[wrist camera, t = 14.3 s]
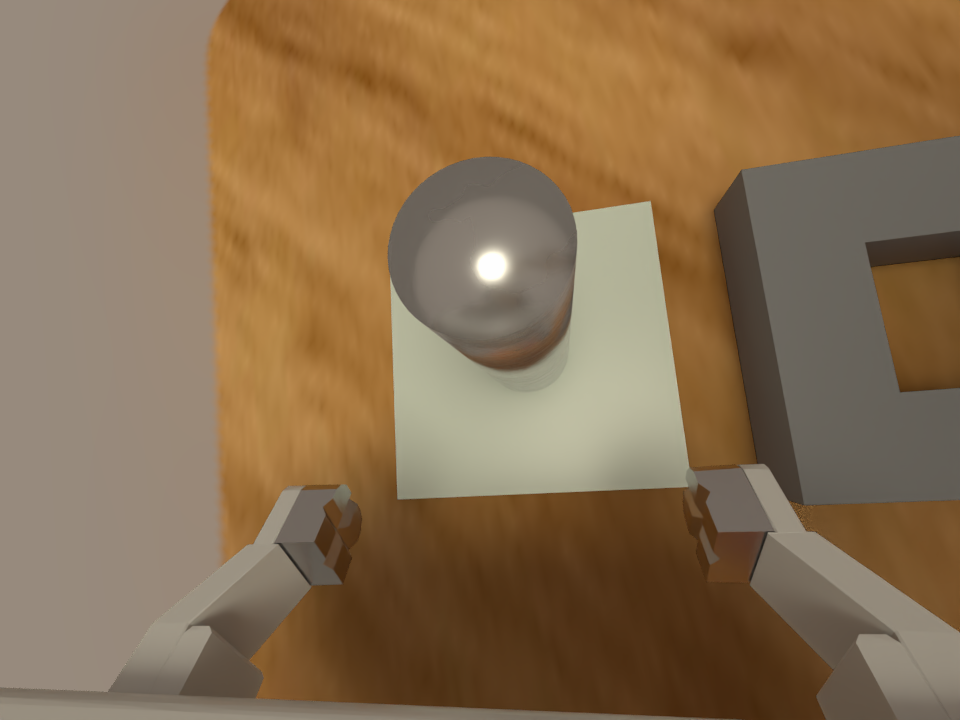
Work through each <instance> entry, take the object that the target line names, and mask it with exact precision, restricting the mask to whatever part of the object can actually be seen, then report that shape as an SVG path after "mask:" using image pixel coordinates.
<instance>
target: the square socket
mask: <svg viewBox="0 0 960 720" xmlns="http://www.w3.org/2000/svg"><path fill="white" fill-rule="evenodd" d="M714 213H715V219H716V224H717V230H718V236H719V242H720V247H721V253H722V259H723V265H724V271H725V276H726V282H727V288H728V294H729V300H730V305H731V311H732V317H733V323H734V329H735V334H736V340H737V346H738V352H739V358H740V363H741V369H742V375H743V381H744V387H745V392H746V398H747V404H748V410H749V416H750V421H751V427H752V433H753V439H754V444H755V450H756V456H757V462H758V464H765V465H766V466H767V467H768V468H769V469H770V471H771V473H772V474H773V476H774V478H775V479H776V481H777V483H778V484H779V486H780V488H781V489H782V491H783V493H784V495H785V496H786V498H787V500H789V501H792V502H795V503H798V504H802V505H830V504H859V503H887V502H916V501H945V500H960V388H953V389H939V390H926V391H912V392H900V390H899V386H898V382H897V377H896V373H895V369H894V365H893V360H892V356H891V352H890V348H889V343H888V339H887V335H886V330H885V326H884V322H883V318H882V313H881V309H880V305H879V301H878V296H877V292H876V288H875V284H874V279H873V275H872V271H871V267H872V266H881V265H890V264H898V263H907V262H915V261H924V260H933V259H941V258H950V257H958V256H960V136H955V137H948V138H942V139H936V140H929V141H923V142H916V143H910V144H904V145H897V146H891V147H885V148H878V149H872V150H865V151H859V152H853V153H846V154H840V155H834V156H827V157H821V158H814V159H808V160H802V161H795V162H789V163H783V164H776V165H770V166H763V167H757V168H751V169H744V170H741V171H740V173H739V174H738V176H737V177H736V179H735V180H734V182H733V183H732V184H731V186H730V187H729V189H728V190H727V192H726V193H725V195H724V196H723V197H722V199H721V200H720V202H719V203H718V205H717V206H716V208H715V209H714Z"/></svg>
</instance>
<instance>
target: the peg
mask: <svg viewBox="0 0 960 720" xmlns="http://www.w3.org/2000/svg"><path fill="white" fill-rule="evenodd" d="M576 255H577V229H576V223H575V219H574V216H573V213H572V210H571V207H570V205H569V203H568V201H567V199H566V197H565V196H564V195H563V193H562V192H561V190H560V189H559V188H558V187H557V186H556V184H555V183H554V182H553V181H552V180H551V179H550V178H548V177H547V176H546V175H544V174H543V173H542V172H540V171H539V170H537V169H535V168H533V167H532V166H530V165H527V164H525V163H522V162H520V161H516V160H512V159H508V158H500V157H480V158H472V159H468V160H464V161H460V162H457V163H455V164H452V165H449V166H447V167H445V168H443V169H441V170H439V171H438V172H436V173H435V174H433V175H432V176H430V177H429V178H427V179H426V180H425V181H424V182H423V183H421V184H420V185H419V186H418V187H417V188H416V189H415V190H414V191H413V193H412V194H411V195H410V196H409V197H408V199H407V200H406V201H405V203H404V204H403V206H402V208H401V209H400V211H399V213H398V215H397V217H396V219H395V222H394V224H393V227H392V231H391V234H390V239H389V245H388V265H389V272H390V276H391V281H392V283H393V286H394V288H395V291H396V293H397V295H398V297H399V298H400V300H401V302H402V303H403V304H404V306H405V307H406V308H407V310H408V311H409V312H410V313H411V314H412V315H413V316H414V317H415V318H416V319H417V320H419V321H420V322H421V323H423V324H424V325H425V326H427V327H428V328H429V329H430V330H432V331H433V332H434V333H436V334H437V335H438V336H440V337H441V338H442V339H443V340H445V341H446V342H447V343H449V344H450V345H451V346H453V347H454V348H455V349H456V350H458V351H459V352H460V353H462V354H463V355H464V356H466V357H467V358H468V359H469V360H471V361H472V362H473V363H475V364H476V365H477V366H479V367H480V368H481V369H482V370H484V371H485V372H486V373H488V374H489V375H490V376H492V377H493V378H494V379H495V380H497V381H498V382H499V383H501V384H502V385H503V386H505V387H507V388H509V389H511V390H514V391H518V392H534V391H538V390H541V389H543V388H546V387H547V386H549V385H551V384H552V383H553V382H554V381H555V380H556V379H557V378H558V377H559V376H560V375H561V373H562V372H563V370H564V368H565V366H566V363H567V359H568V352H569V340H570V328H571V316H572V303H573V291H574V279H575V267H576Z"/></svg>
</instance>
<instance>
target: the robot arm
mask: <svg viewBox="0 0 960 720" xmlns="http://www.w3.org/2000/svg"><path fill="white" fill-rule="evenodd" d="M685 479H686V481H687V484H688V488H687V489H686V490H684V491H683V512H684V517H685V521H686V525H687V528H688V531H689V534H691V535H692V536H693V537H694V538H695V539H696V540H698V543H697V549H696V554H697V557H698V560H699V563H700V566H701V569H702V572H703V574H704V577H705V580H706V582H721V583H750V586H751V587H752V588H753V589H754V590H755V591H756V592H757V593H758V594H759V595H760V596H761V597H762V598H763V599H764V600H765V601H766V602H767V603H768V604H769V605H770V606H771V607H772V608H773V609H774V610H775V611H776V612H777V613H778V614H779V615H780V616H781V617H782V618H783V620H784V621H785V622H786V623H787V624H788V625H789V626H790V627H791V628H792V629H793V630H794V631H795V632H796V633H797V634H798V635H799V636H800V637H801V638H802V639H803V640H804V641H805V642H806V643H807V644H808V645H809V646H810V647H811V648H812V649H813V650H814V651H815V652H816V653H817V654H818V655H819V656H820V657H821V658H822V659H823V660H824V661H825V662H826V663H827V664H828V665H829V666H830V667H831V668H832V669H833V670H834V671H833V672H832V674H831V675H830V676H829V678H828V679H827V681H826V682H825V684H824V685H823V686H822V688H821V689H820V691H819V693H818V694H817V696H816V698H817V700H818V702H819V705H820V707H821V709H822V711H823V714H824V716H825V718H826V720H960V632H958V631H957V630H955V629H954V628H953V627H951V626H950V625H948V624H947V623H945V622H944V621H943V620H941V619H940V618H938V617H937V616H935V615H934V614H932V613H931V612H930V611H928V610H927V609H925V608H924V607H922V606H921V605H920V604H918V603H917V602H915V601H914V600H912V599H911V598H909V597H908V596H907V595H905V594H904V593H902V592H901V591H899V590H898V589H897V588H895V587H894V586H892V585H891V584H889V583H888V582H886V581H885V580H884V579H882V578H881V577H879V576H878V575H876V574H875V573H874V572H872V571H871V570H869V569H868V568H866V567H865V566H863V565H862V564H861V563H859V562H858V561H856V560H855V559H853V558H852V557H851V556H849V555H848V554H846V553H845V552H843V551H842V550H840V549H839V548H838V547H836V546H835V545H833V544H832V543H830V542H829V541H827V540H826V539H825V538H823V537H822V536H820V535H819V534H817V533H816V532H806V530H805V528H804V527H803V525H802V523H801V522H800V520H799V518H798V516H797V515H796V513H795V511H794V510H793V508H792V506H791V505H790V503H789V501H788V500H787V498H786V496H785V495H784V493H783V491H782V489H781V488H780V486H779V484H778V483H777V481H776V479H775V478H774V476H773V474H772V473H771V471H770V469H769V468H768V467H767V466H766V465H765V464H747V465H720V466H703V467H689V468H688V470H687V472H686V478H685ZM350 495H351V492H350V490H349V488H348V487H347V485H302V486H288V487H287V488H286V489H284V490H283V491H282V493H281V495H280V497H279V498H278V500H277V502H276V504H275V506H274V507H273V509H272V511H271V513H270V515H269V516H268V518H267V520H266V522H265V524H264V526H263V527H262V529H261V531H260V533H259V535H258V536H257V538H256V540H255V542H254V544H250V545H247V546H245V547H244V548H243V549H242V550H241V551H239V552H238V553H237V554H236V555H235V556H233V557H232V558H231V559H230V560H229V561H227V562H226V563H225V564H224V565H222V566H221V567H220V568H219V569H218V570H217V571H215V572H214V573H213V574H212V575H211V576H209V577H208V578H207V579H206V580H204V581H203V582H202V583H201V584H199V585H198V586H197V587H196V588H195V589H193V590H192V591H191V592H190V593H189V594H188V595H186V596H185V597H184V598H182V599H181V600H180V601H179V602H178V603H176V604H175V605H174V606H173V607H172V608H170V609H169V610H168V611H167V612H166V613H164V614H163V615H162V616H161V617H160V618H158V619H157V620H156V621H155V622H153V623H152V625H151V626H150V628H149V629H148V631H147V633H146V634H145V636H144V637H143V639H142V640H141V642H140V643H139V645H138V646H137V648H136V650H135V651H134V653H133V654H132V656H131V657H130V659H129V660H128V662H127V663H126V665H125V666H124V668H123V669H122V671H121V673H120V674H119V676H118V677H117V679H116V680H115V682H114V683H113V685H112V686H111V688H110V689H109V691H108V692H96V691H73V690H46V689H22V688H0V720H740V719H717V718H694V717H671V716H648V715H625V714H602V713H580V712H557V711H534V710H511V709H488V708H465V707H442V706H419V705H396V704H373V703H350V702H327V701H304V700H280V699H257V698H256V696H257V693H258V691H259V688H260V686H261V683H262V681H263V674H262V672H261V671H260V670H259V669H258V668H257V667H256V666H255V665H253V664H252V663H251V662H250V661H249V660H250V659H251V657H252V656H253V655H254V654H255V653H256V652H257V650H258V649H259V648H260V647H261V646H262V645H263V643H264V642H265V641H266V640H267V639H268V638H269V636H270V635H271V634H272V633H273V632H274V631H275V629H276V628H277V627H278V626H279V625H280V624H281V622H282V621H283V620H284V619H285V618H286V616H287V615H288V614H289V613H290V612H291V611H292V609H293V608H294V607H295V606H296V605H297V604H298V602H299V601H300V600H301V599H302V598H303V597H304V595H305V594H306V593H307V592H308V591H309V590H310V588H311V586H310V585H336V584H343V583H344V580H345V577H346V574H347V571H348V568H349V565H350V563H351V560H352V557H351V554H350V551H349V549H350V548H351V547H352V546H353V545H354V544H355V543H356V542H357V541H358V539H359V536H360V533H361V526H362V516H361V511H360V508H359V506H358V504H356V503H355V502H353V501H352V500H350V499H349V498H350Z"/></svg>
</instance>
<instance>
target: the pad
mask: <svg viewBox="0 0 960 720" xmlns="http://www.w3.org/2000/svg"><path fill="white" fill-rule="evenodd" d="M573 216H574V219H575V223H576V229H577V255H576V267H575V279H574V291H573V303H572V316H571V328H570V340H569V352H568V359H567V363H566V366H565V368H564V370H563V372H562V373H561V375H560V376H559V377H558V378H557V379H556V380H555V381H554V382H553V383H552V384H551V385H549V386H547V387H546V388H543V389H541V390H538V391H534V392H518V391H514V390H511V389H509V388H507V387H505V386H503V385H502V384H501V383H499V382H498V381H497V380H495V379H494V378H493V377H492V376H490V375H489V374H488V373H486V372H485V371H484V370H482V369H481V368H480V367H479V366H477V365H476V364H475V363H473V362H472V361H471V360H469V359H468V358H467V357H466V356H464V355H463V354H462V353H460V352H459V351H458V350H456V349H455V348H454V347H453V346H451V345H450V344H449V343H447V342H446V341H445V340H443V339H442V338H441V337H440V336H438V335H437V334H436V333H434V332H433V331H432V330H430V329H429V328H428V327H427V326H425V325H424V324H423V323H421V322H420V321H419V320H417V319H416V318H415V317H414V316H413V315H412V314H411V313H410V312H409V311H408V310H407V308H406V307H405V306H404V304H403V303H402V302H401V300H400V298H399V297H398V295H397V293H396V291H395V288H394V286H393V283H392V281H391V312H392V344H393V375H394V407H395V439H396V470H397V500H398V499H421V498H444V497H468V496H491V495H514V494H537V493H560V492H584V491H607V490H630V489H653V488H676V487H688V484H687V481H686V479H685V478H686V472H687V470H688V468H689V462H688V455H687V448H686V441H685V434H684V427H683V421H682V414H681V407H680V400H679V393H678V386H677V379H676V373H675V366H674V359H673V352H672V345H671V338H670V331H669V324H668V318H667V311H666V304H665V297H664V290H663V283H662V276H661V270H660V263H659V256H658V249H657V242H656V235H655V228H654V222H653V215H652V208H651V201H649V202H642V203H635V204H629V205H622V206H615V207H609V208H602V209H595V210H589V211H582V212H575V213H573ZM390 280H391V276H390Z"/></svg>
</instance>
